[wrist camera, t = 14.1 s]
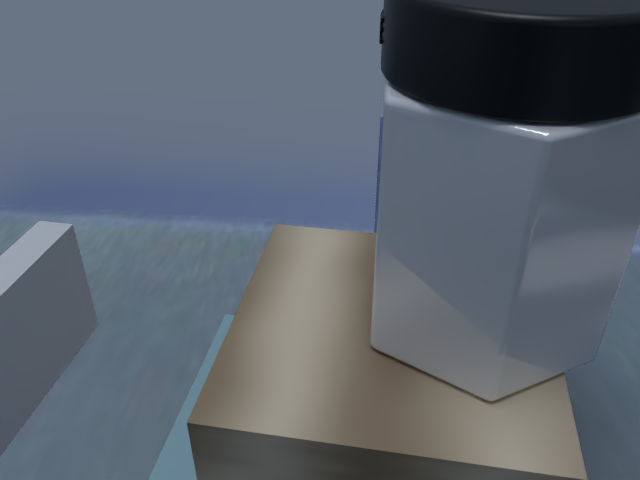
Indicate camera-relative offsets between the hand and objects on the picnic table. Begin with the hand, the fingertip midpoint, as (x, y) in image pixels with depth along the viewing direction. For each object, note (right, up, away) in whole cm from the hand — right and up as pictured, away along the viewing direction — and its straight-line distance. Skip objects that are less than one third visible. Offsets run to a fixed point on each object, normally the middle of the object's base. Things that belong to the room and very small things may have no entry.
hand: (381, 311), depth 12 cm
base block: (+1, -7, +14) cm, 16 cm away
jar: (+5, -2, +11) cm, 12 cm away
